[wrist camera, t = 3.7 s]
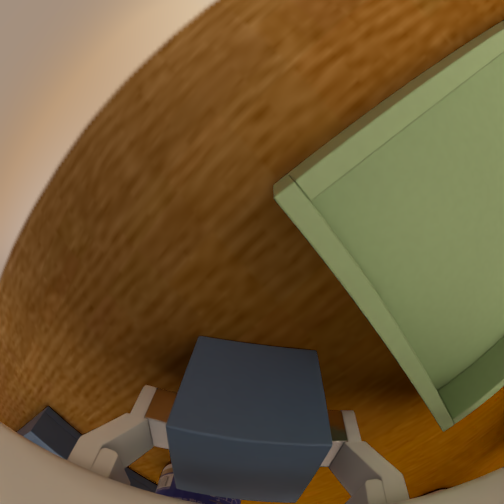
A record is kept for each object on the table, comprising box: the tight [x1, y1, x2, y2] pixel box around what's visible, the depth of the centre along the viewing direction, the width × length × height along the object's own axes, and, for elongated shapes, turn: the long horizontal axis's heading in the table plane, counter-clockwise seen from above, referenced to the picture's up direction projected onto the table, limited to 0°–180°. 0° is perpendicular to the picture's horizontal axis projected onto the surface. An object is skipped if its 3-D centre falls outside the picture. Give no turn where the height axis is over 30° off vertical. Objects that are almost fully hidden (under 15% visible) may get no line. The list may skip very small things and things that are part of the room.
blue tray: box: [17, 406, 157, 493], centre depth 16 cm, size 14×12×3 cm
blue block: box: [166, 336, 333, 503], centre depth 9 cm, size 4×4×4 cm
